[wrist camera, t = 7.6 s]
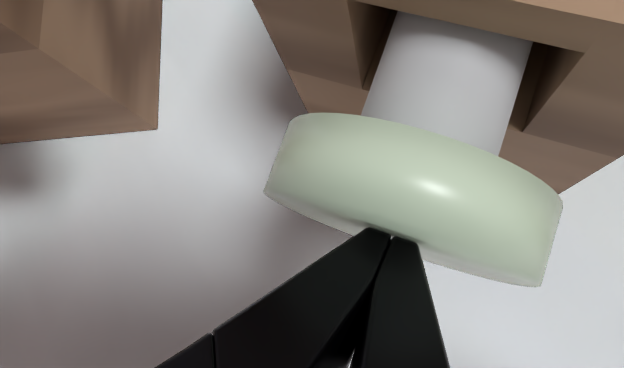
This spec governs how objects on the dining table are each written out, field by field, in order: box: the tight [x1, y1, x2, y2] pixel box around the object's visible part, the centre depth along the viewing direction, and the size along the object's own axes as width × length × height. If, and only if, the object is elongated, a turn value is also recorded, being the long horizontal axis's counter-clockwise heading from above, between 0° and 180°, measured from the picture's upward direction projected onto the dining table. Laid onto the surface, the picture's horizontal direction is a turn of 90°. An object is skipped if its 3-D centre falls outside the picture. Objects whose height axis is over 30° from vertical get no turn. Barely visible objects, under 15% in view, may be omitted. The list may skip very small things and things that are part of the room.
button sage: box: [263, 11, 563, 287], centre depth 9 cm, size 8×5×5 cm, turn 160°
